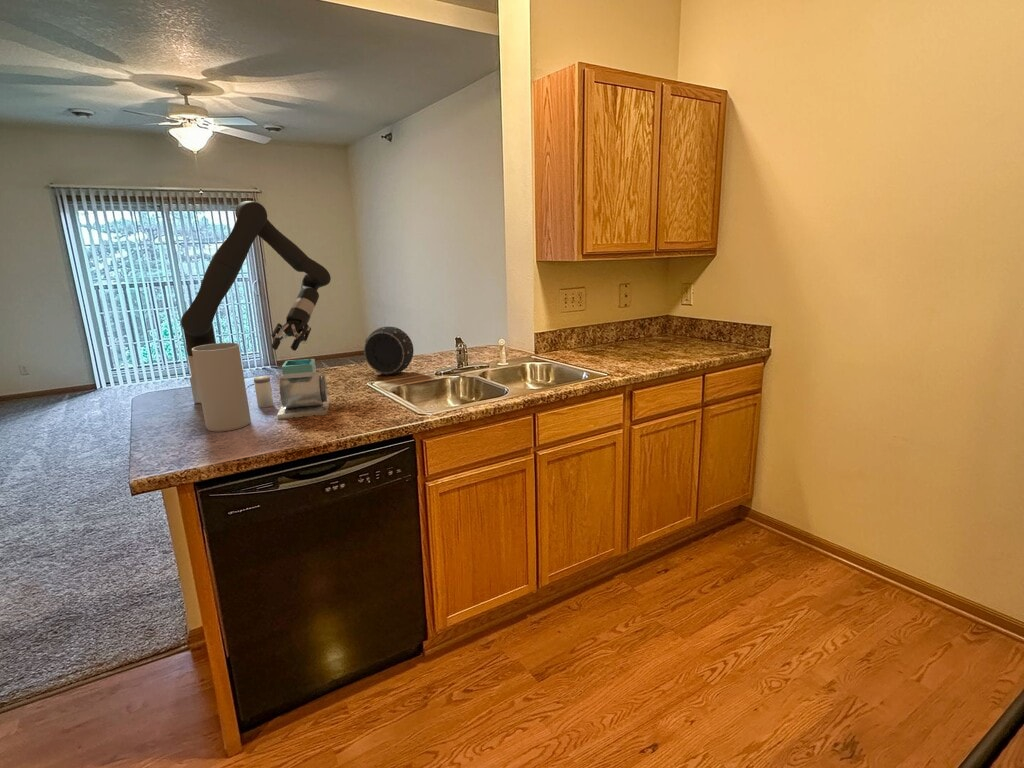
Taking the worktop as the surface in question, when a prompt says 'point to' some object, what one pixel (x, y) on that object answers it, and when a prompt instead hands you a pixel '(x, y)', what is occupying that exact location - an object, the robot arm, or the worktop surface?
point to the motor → (302, 390)
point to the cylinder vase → (221, 386)
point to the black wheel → (388, 350)
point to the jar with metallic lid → (263, 391)
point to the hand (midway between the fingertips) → (283, 349)
